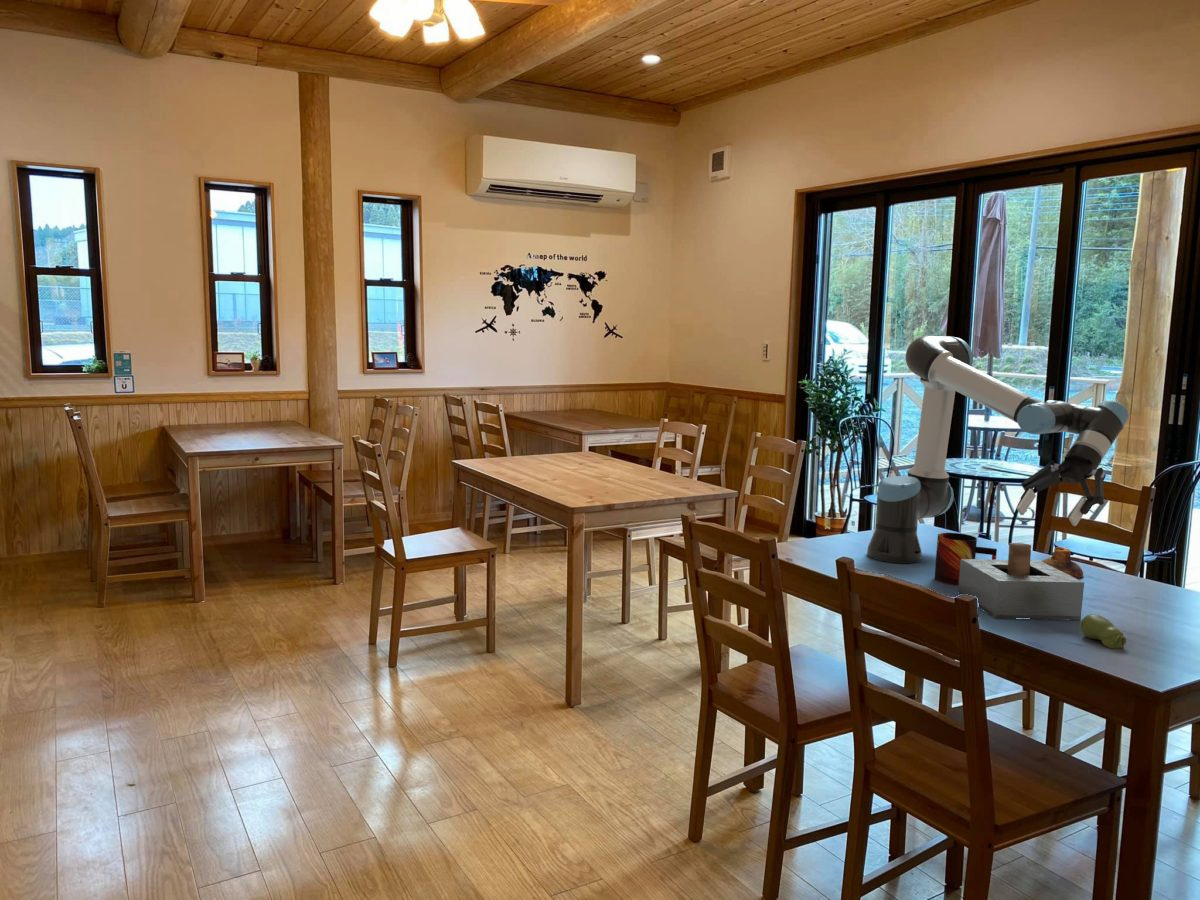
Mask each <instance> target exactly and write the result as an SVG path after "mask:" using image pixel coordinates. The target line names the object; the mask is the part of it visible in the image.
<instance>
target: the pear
mask: <svg viewBox="0 0 1200 900" xmlns="http://www.w3.org/2000/svg"><path fill="white" fill-rule="evenodd" d="M1080 630H1081V633H1082V634H1083V635H1084V636H1085V637H1087V638H1088V639H1091V640H1100V641H1101V643H1102V645H1103V646H1105V647H1107V648H1108V649H1110V650H1111V649H1113V650H1114V649H1123V648H1124V647H1125V645H1126V644H1127V637H1126V636H1125V635H1124V633H1123V632H1122V631H1121V630H1120V629H1118V628H1116V626H1115V625H1114V624H1113V622H1111V621H1110V620H1109V619H1107V618H1106V617H1104V616H1102V615H1099V614H1094V613H1093V614H1088V615H1085V616H1084V617H1083V618H1082V620H1080Z"/></svg>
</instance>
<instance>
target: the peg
mask: <svg viewBox="0 0 1200 900" xmlns="http://www.w3.org/2000/svg"><path fill="white" fill-rule="evenodd" d="M1031 555H1032V545H1031V544H1028V543H1024V542H1023V543H1022V542H1010V543H1008V559H1007V560H1008V573H1007V574H1008V575H1018V576H1029V575H1030V560H1031Z"/></svg>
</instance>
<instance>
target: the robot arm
mask: <svg viewBox="0 0 1200 900" xmlns="http://www.w3.org/2000/svg"><path fill="white" fill-rule="evenodd" d="M905 362H906V365H907V367H908V369H909V370H910V372H912V373H913V374H914V375H916V376H918V377H920V379H919V381H920V383H921V384H922V385H923V386H924V389H923V396H922V397H923V398H922V404H921V405H922V406H921V412H920V420H919V427H918V434H917V441H916V442H917V443H916V451H915V458H914V464H913V466H912V467H911V468H909V469H908V470H907V471H908V472H907V475H898V476H895V475H893V476H887V477H884V478H882V479H881V480H880V481H879V482H878V486H877V491H876V497H877V498H876V512H875V525H874V531H873V533H872V535H871V536H872V537H871V539H870V541H869V543H868V546H867V552H866V555H867V556H868V557H869V558H871V559H874V560H877V561H880V562H886V563H894V564H915V563H919V562H921V561H922V558H923V557H922V556H923V555H922V554H923V552H922V548H921V544H920V540H919V536H918V526H919V525H918V521H919V520H922V519H929V518H935V517H939V516H940V515H942V514H944V513H946V512H947V511H948V510H949V509H950V508H951V506H952V504H953V502H954V489H953V487H952V486H951V484H950V482H949V479H950V475H949V473H947V471H946V469H945V468H946V463H947V462H946V461H947V454H948V445H949V440H950V439H949V438H950V434H951V432H950V431H951V424H952V417H953V411H954V404H955V397H956V396H955V395H956V392H957V393H959V394H961V395H962V396H964V397H967V398H968V399H970V400H972V401H974V402H976V403H978V404H980V405H982V406H984V407H986V408H988V409H989V410H991V411H993V412H996V414H997V413H998V414H1000V415H1001V416H1003V417H1005V418H1007V419H1009V420H1010V421H1012V422H1015V423H1016V424H1018V426H1019V428H1020V429H1021V430H1022V431H1023V432H1025V433H1027V434H1030V435H1043V434H1053V433H1070V434H1075V435H1078V436H1077V438H1076V439H1075V441H1074V442H1073V444H1072V446H1071V447H1070V449H1069V450H1068V451H1067V453H1066V454H1065V457H1064V460H1063V461H1062V462H1061V463H1059V464H1058V463H1055V461H1054V460H1051V459H1050V460H1049V461H1048V462H1047V463H1046V465H1045V466H1044V467H1042V468H1041V469H1039V470H1038V471H1036V472H1035V473H1033V474H1032V475H1031V476H1029V477H1028V478H1027V479H1025V480H1024V481H1022V482H1020V483H1021V484H1020V485H1021V487H1022V489H1023V490H1024V492H1023V494H1022V495H1021V497H1020V502H1019V504H1018V505H1017V506H1016V510H1017V511H1018V513H1019V515H1020V516H1024V515H1025V514H1026V512H1027V510H1028V509H1029V507H1031V504H1032V503H1033V501H1034V500H1035V498H1036V496H1037V495H1036V494H1037V493H1039V492H1041V491H1043V490H1045V489H1048V488H1049V487H1052V486H1054V485H1056V484H1061V483H1067V484H1068V483H1069V484H1070V483H1071V484H1074V485H1077V484H1080V485H1081V488H1082V491H1083V493H1084V497H1085V498H1083V497H1081V499H1080V501H1079V502H1078V503H1077V505H1076V506H1075V508H1074V510H1073V511H1072V513H1071V514H1070V516H1069V517H1068V520H1069V521H1070V523H1071V525H1072V526H1073V527H1077V526H1078V524H1079V522H1080V520H1081V519H1082V517H1084V515H1085V516H1086V515H1087V514H1088V513H1089V512H1090V510H1091V508H1092V507H1093V506H1095V505H1099V506H1102V505H1104V503H1105V501H1104V499H1105V498H1104V497H1105V496H1104V495H1105V494H1104V491H1105V490H1104V481H1105V479H1106V476H1107V475H1106V473H1105V470H1104V469H1103V467H1099V466H1100V464H1101V463H1102V460H1103V459H1104V458H1105V457H1106V456H1107V454H1108V452H1109V451H1110V448H1111V447H1112V445H1113V444H1114V442H1115V440H1116V439H1117V437H1118V436H1119V435H1120V433H1121V432H1122V431H1123V430H1124V428H1125V425H1126V423H1127V422H1128V420H1129V416H1130V414H1129V411H1128V409H1127V407H1125V406H1124V405H1123V404H1121V403H1120V402H1119V401H1115V400H1110V399H1109V400H1103V401H1100V403H1099V404H1098V405H1097V406H1096V407H1094V406H1086V405H1082V404H1076V403H1071V402H1067V401H1066V402H1065V401H1063V400H1053V399H1048V400H1046V401H1045V402H1043V401H1042V400H1039V399H1037V398H1035V397H1033V396H1031V395H1029V394H1027V393H1025V392H1023V391H1021V390H1019V389H1017V388H1015V387H1013V386H1011V385H1009V384H1007V383H1005V382H1004V381H1001V380H999V379H997V378H994V377H993V376H991V375H990V374H987V373H985V372H983V371H981V370H978V369H977V368H975V367H973V366H972V365H973V362H974V355H973V350H972V348H971V346H970V345H969V344H968V343H967V342H966V341H965V340H963V339H962V338H960V337H955V336H950V335H943V336H942V335H922V336H920V337H918V338H916V339H914V340H913V341H912V342H911V343H910V344H909V345H908V346H907V349H906V352H905ZM1058 475H1059V476H1060V477H1059V476H1058ZM1091 477H1093V478H1094V495H1093V494H1092V492H1091V490H1090V486H1089V484H1088V482H1087V480H1088V479H1089V478H1091Z"/></svg>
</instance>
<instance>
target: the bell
mask: <svg viewBox="0 0 1200 900" xmlns="http://www.w3.org/2000/svg"><path fill="white" fill-rule="evenodd" d="M1071 552H1072V551H1071V550H1070V548H1065V547H1060V546H1056V547H1055V548H1054V551H1053V553H1052V556H1049V557H1048V558H1045V559H1043V560H1040V561H1041V562H1043V563H1045V564H1047V565H1049V566H1051V567H1053V568H1056V569H1058V570H1060V571H1062V572H1064V573H1066V574H1068V575H1070V576H1072V577H1074V578H1078V579H1080V578H1079V577H1081V578H1082V577H1084V571H1083V569H1082V568H1081V566H1080V565H1079V564H1078V563H1076V562H1075V561H1072V560H1071Z"/></svg>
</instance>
